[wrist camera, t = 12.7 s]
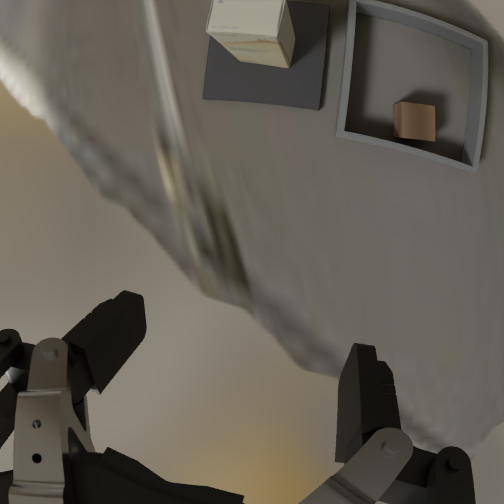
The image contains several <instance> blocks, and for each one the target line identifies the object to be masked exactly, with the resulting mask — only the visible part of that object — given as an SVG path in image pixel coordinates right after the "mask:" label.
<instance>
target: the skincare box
mask: <svg viewBox="0 0 504 504" xmlns="http://www.w3.org/2000/svg"><path fill="white" fill-rule="evenodd" d="M206 32H207V33H208V34H210V35H211V36H212V37H213V38H214V39H216V40H217V41H218V42H219V43H220V44H221V45H222V46H224V47H225V48H226V49H227V50H228V51H229V52H230V53H231V54H233V55H234V56H235V57H236V58H237V59H238V60H239V61H242V62H249V63H256V64H263V65H270V66H277V67H283V68H290V64H291V59H292V55H293V50H294V45H295V35H294V30H293V26H292V22H291V17H290V13H289V9H288V5H287V1H286V0H212V4H211V8H210V12H209V16H208V20H207V25H206Z"/></svg>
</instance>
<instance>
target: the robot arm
mask: <svg viewBox="0 0 504 504" xmlns="http://www.w3.org/2000/svg"><path fill="white" fill-rule="evenodd" d="M145 334H146V317H145V308H144V299H143V296H142V295H140V294H136V293H133V292H129V291H126V290H124V291H122V292H121V293H120V294H119V295H118V296H116V297H115V298H114V299H109V300H107V301H105V302H103V303H100V304H99V305H98V306H97V307H96V308H94V309H93V310H92V312H91V313H89V314H88V315H87V316H86V317H85V319H84V318H83V319H82V320H81V321H80V322H79V323H78V324H77V325H76V326H75V327H73V328H72V329H71V330H70V331H69V332H68V333H67V334H66V335H65V336H64V337H63V338H62V339H59V338H47V339H44V340H42V341H40V342H39V343H38V344H37V345H33V344H29V343H24V342H22V340H21V337H20V335H19V333H18V332H17V331H16V330H14V329H4V330H1V331H0V378H1V377H2V376H3V375H4V374H5V375H6V377H7V379H8V381H9V382H8V383H7V385H6V386H5V387H4V388H3V389H2V390H1V391H0V448H1V447H2V445H3V444H4V443H5V441H6V440H7V439H8V437H9V436H10V434H11V433H12V432H13V430H14V450H13V470H10V471H5V472H0V504H244V503H242V502H243V499H244V496H243V495H239V494H235V493H230V492H227V491H223V490H219V489H215V488H212V487H208V486H198V485H188V484H180V483H172V482H168V481H166V480H164V479H162V478H161V477H160V476H158V475H157V474H155V473H153V472H152V471H151V470H149V469H148V468H147V467H145V466H144V465H142V464H141V463H140V462H138V461H137V460H135V459H132V458H130V457H128V456H126V455H124V454H121V453H119V452H117V451H115V450H113V449H111V448H109V447H107V449H106V450H105V452H104V453H97V452H95V448H94V446H93V443H92V440H91V434H90V426H89V416H88V405H87V404H88V403H87V396H86V393H87V392H88V391H89V390H91V391H93V392H95V393H97V394H101V393H102V391H103V390H104V389H105V387H106V386H107V385H108V384H109V382H110V381H111V380H112V379H113V377H114V376H115V374H116V373H117V372H118V371H119V370H120V368H121V367H122V366H123V364H124V363H125V362H126V361H127V359H128V358H129V357H130V356H131V354H132V353H133V351H135V349H136V348H137V347H138V346H139V344H140V343H141V342H142V341H143V339H144V337H145ZM395 394H396V390H395V386H394V379H393V373H392V371H391V370H390V368H389V367H388V365H387V364H386V362H385V361H377V355H376V349H375V346H372V345H365V344H358V343H354V344H353V346H352V348H351V351H350V353H349V356H348V358H347V361H346V363H345V365H344V368H343V370H342V373H341V376H340V379H339V385H338V412H337V413H338V414H337V435H336V453H335V462H340V463H345V464H344V466H343V467H342V468H341V469H340V470H339V471H338V472H337V473H336V474H334V476H331V477H330V478H328V479H327V480H326V481H325V482H324V483H323V484H321V486H319V487H318V488H317V489H316V490H314V491H313V492H312V493H311V494H310V495H309V496H307V497H306V498H305V499H304V500H303V501H301V502H300V503H299V504H375V503H376V502H377V501H381V502H385V503H388V504H476V503H475V492H474V483H473V475H472V468H471V462H470V459H469V457H468V455H467V454H466V453H465V452H464V451H463V450H462V449H460V448H458V447H453V446H450V447H445V448H443V449H442V450H441V451H440V452H439V453H438V454H436V453H432V452H429V451H425V450H422V449H419V448H416V447H415V446H413V444H412V441H411V439H410V438H409V436H408V435H407V434H406V433H404V432H403V431H402V430H401V424H400V416H399V409H398V403H397V396H396V395H395Z"/></svg>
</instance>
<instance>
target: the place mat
mask: <svg viewBox="0 0 504 504" xmlns="http://www.w3.org/2000/svg"><path fill="white" fill-rule="evenodd" d="M287 5H288V9H289V13H290V17H291V22H292V26H293V30H294V35H295V45H294V50H293V55H292V59H291V64H290V68H283V67H277V66H270V65H263V64H256V63H249V62H242V61H239V60H238V59H237V58H236V57H235V56H234V55H233V54H231V53H230V52H229V51H228V50H227V49H226V48H225V47H224V46H222V45H221V44H220V43H219V42H218V41H217V40H216V39H214V38H213V37H212V36H211V35H210V41H209V48H208V56H207V64H206V72H205V80H204V89H203V98H202V99H205V100H227V101H243V102H255V103H266V104H275V105H284V106H292V107H299V108H306V109H313V110H319V104H320V96H321V87H322V79H323V69H324V60H325V50H326V40H327V29H328V17H329V6H326V5H318V4H310V3H300V2H287Z"/></svg>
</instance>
